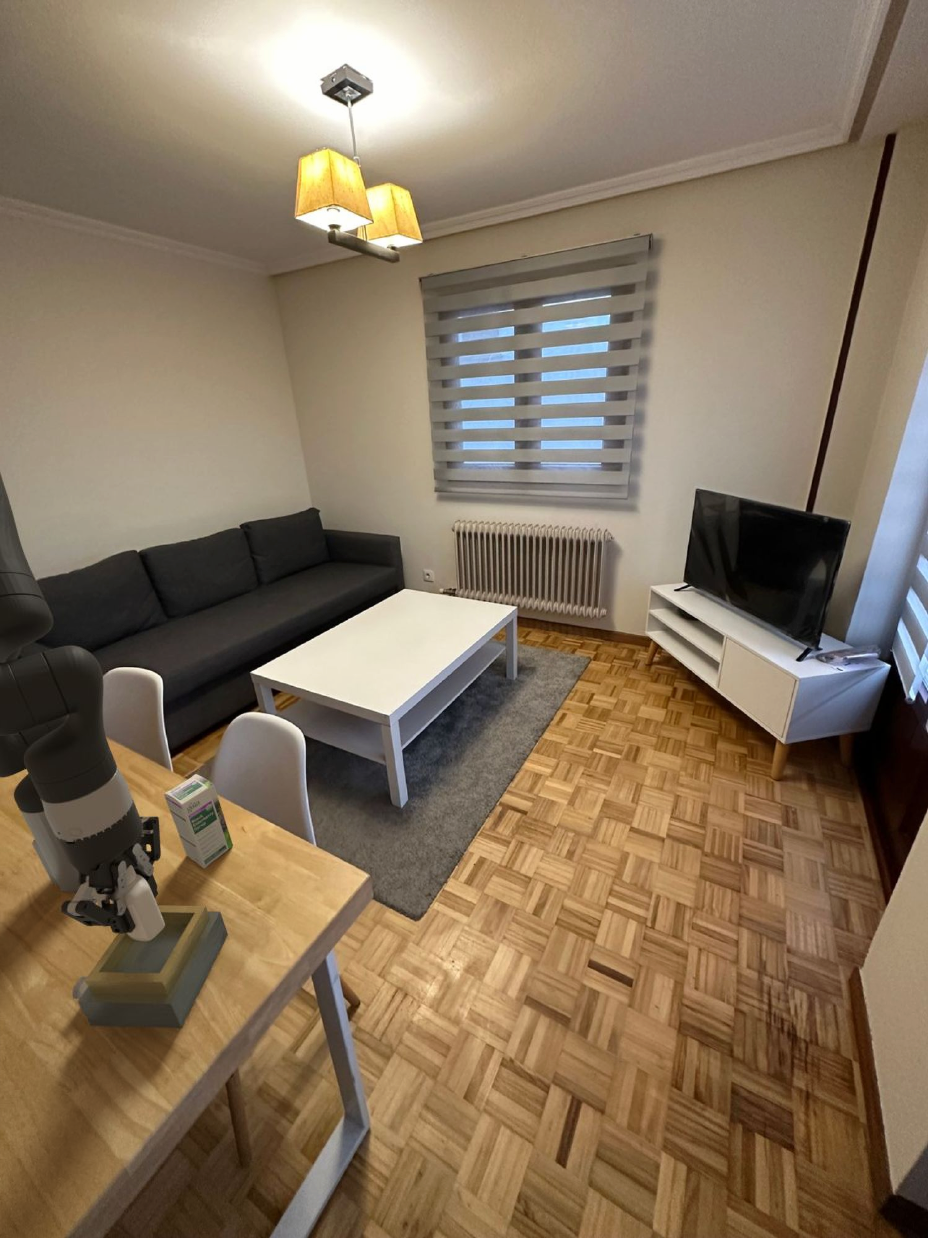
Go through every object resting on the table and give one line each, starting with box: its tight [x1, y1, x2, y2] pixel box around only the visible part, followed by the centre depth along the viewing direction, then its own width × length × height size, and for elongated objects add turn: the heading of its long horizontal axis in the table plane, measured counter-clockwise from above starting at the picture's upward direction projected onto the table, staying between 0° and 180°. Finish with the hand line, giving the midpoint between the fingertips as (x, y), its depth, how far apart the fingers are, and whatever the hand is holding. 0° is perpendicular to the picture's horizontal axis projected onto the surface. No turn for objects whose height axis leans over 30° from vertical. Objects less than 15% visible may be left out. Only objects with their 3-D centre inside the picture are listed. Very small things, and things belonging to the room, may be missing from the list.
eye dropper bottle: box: [110, 865, 165, 941], centre depth 61 cm, size 4×6×12 cm
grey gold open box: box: [71, 905, 229, 1029], centre depth 65 cm, size 15×12×8 cm
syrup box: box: [163, 773, 234, 869], centre depth 84 cm, size 6×6×14 cm
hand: (138, 913), depth 62 cm, fingers closed on eye dropper bottle, 3 cm apart
